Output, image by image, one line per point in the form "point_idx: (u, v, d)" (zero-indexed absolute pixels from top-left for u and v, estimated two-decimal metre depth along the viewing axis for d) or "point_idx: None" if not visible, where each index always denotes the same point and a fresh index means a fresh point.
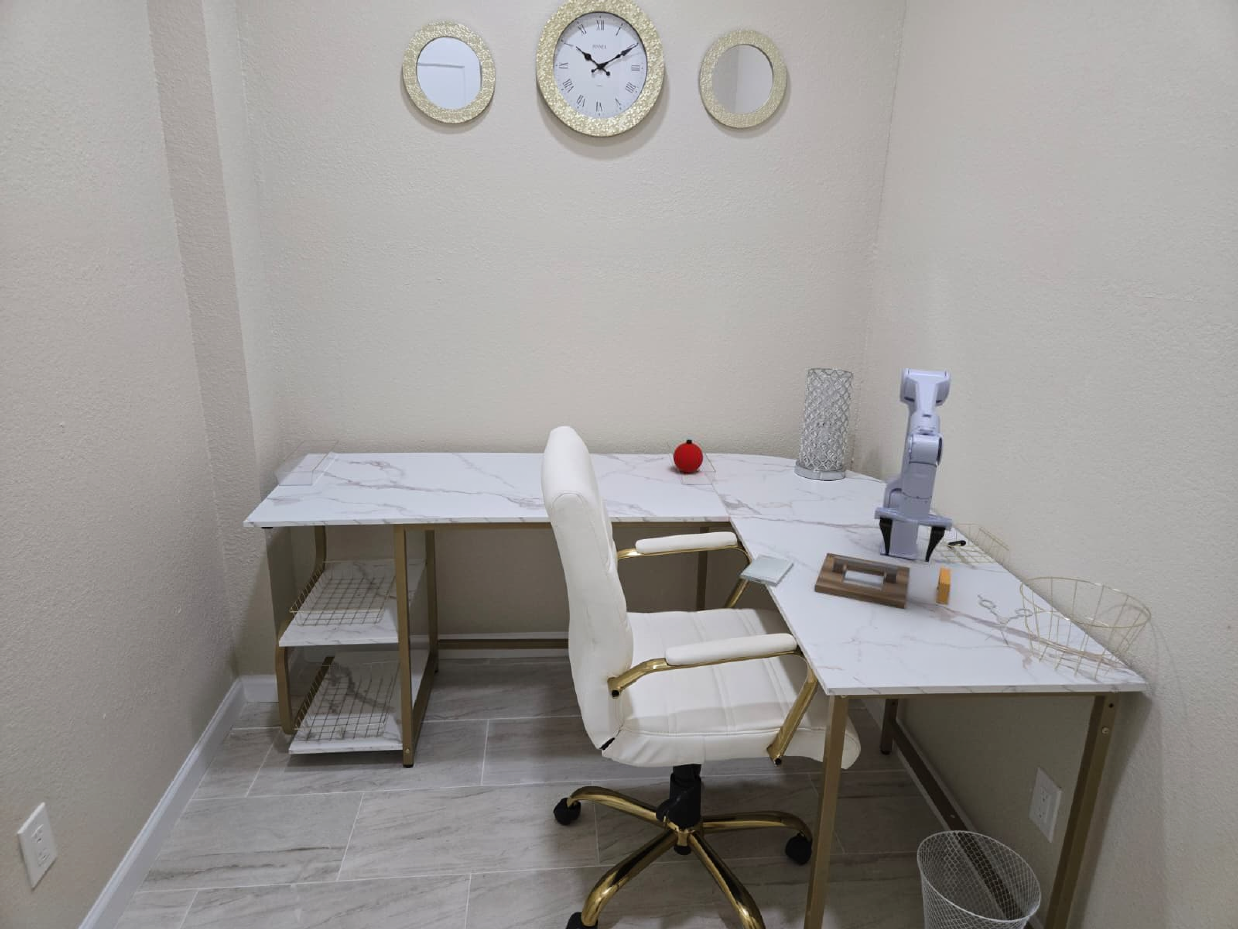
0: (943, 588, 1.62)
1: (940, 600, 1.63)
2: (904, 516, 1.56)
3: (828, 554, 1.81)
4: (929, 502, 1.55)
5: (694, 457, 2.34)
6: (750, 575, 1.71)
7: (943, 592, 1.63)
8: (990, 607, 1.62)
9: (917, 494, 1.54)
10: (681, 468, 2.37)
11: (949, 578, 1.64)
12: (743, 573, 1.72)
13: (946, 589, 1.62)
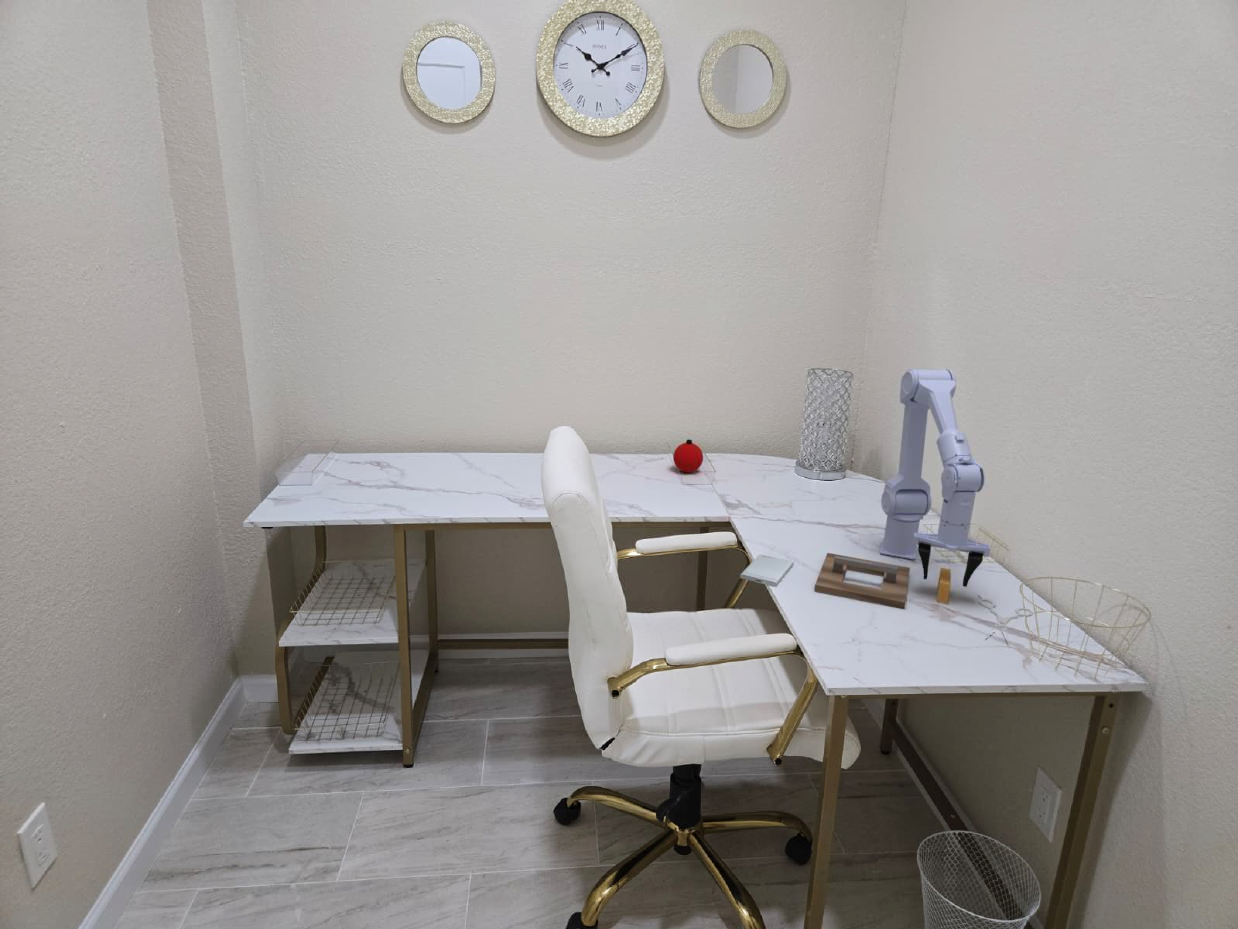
0: (943, 588, 1.62)
1: (940, 600, 1.63)
2: (943, 542, 1.61)
3: (828, 554, 1.81)
4: (968, 529, 1.60)
5: (694, 457, 2.34)
6: (750, 575, 1.71)
7: (943, 592, 1.63)
8: (990, 607, 1.62)
9: (962, 522, 1.58)
10: (681, 468, 2.37)
11: (949, 578, 1.64)
12: (743, 573, 1.72)
13: (946, 589, 1.62)
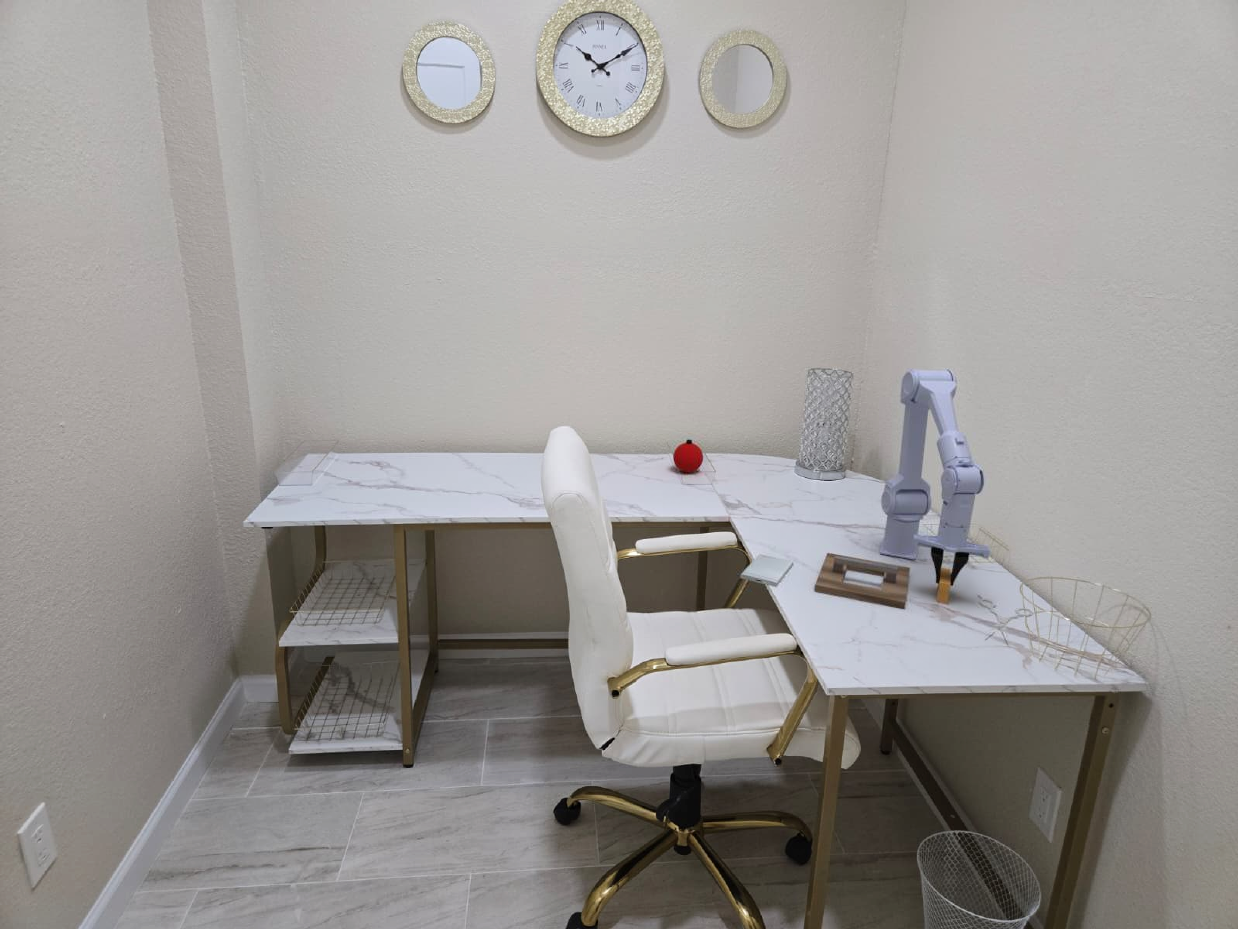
0: (943, 588, 1.62)
1: (940, 600, 1.63)
2: (943, 544, 1.61)
3: (828, 554, 1.81)
4: (967, 530, 1.60)
5: (694, 457, 2.34)
6: (750, 575, 1.71)
7: (943, 592, 1.63)
8: (990, 607, 1.62)
9: (961, 523, 1.59)
10: (681, 468, 2.37)
11: (949, 578, 1.64)
12: (743, 573, 1.72)
13: (946, 589, 1.62)
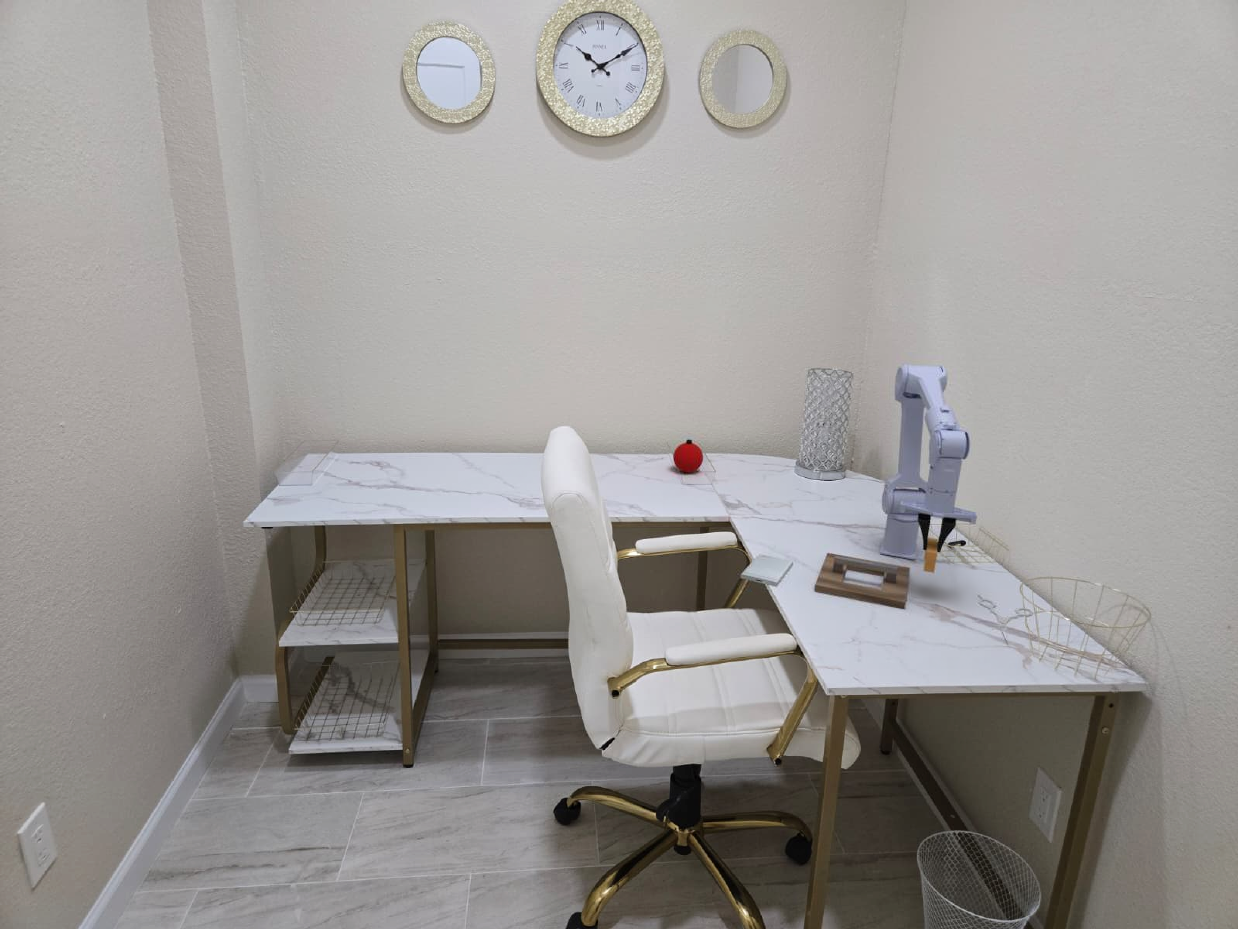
0: (930, 557, 1.61)
1: (927, 569, 1.62)
2: (930, 510, 1.60)
3: (828, 554, 1.81)
4: (954, 496, 1.59)
5: (694, 457, 2.34)
6: (751, 575, 1.71)
7: (930, 561, 1.62)
8: (990, 607, 1.62)
9: (946, 488, 1.58)
10: (681, 468, 2.37)
11: (936, 547, 1.63)
12: (743, 573, 1.72)
13: (933, 558, 1.61)
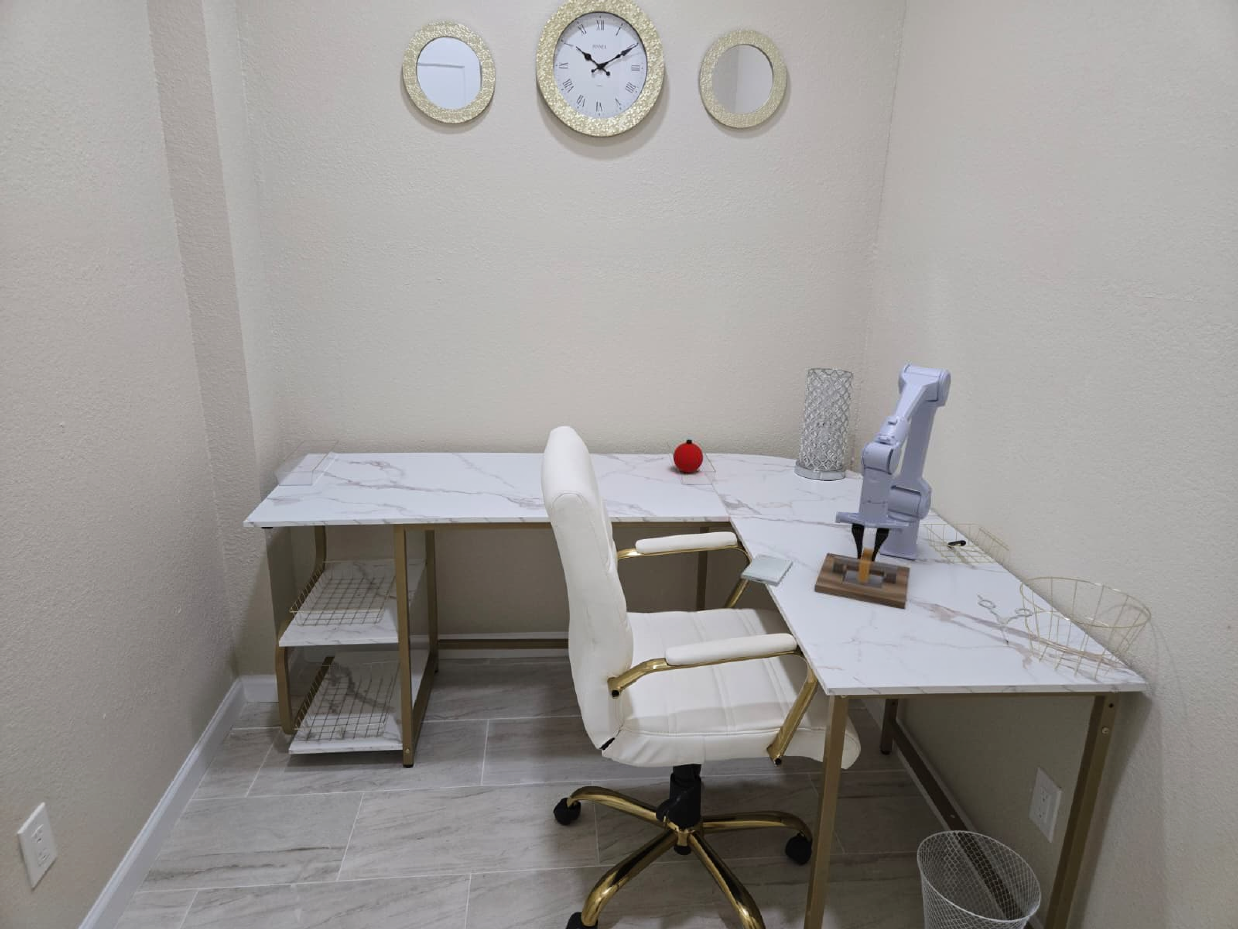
0: (863, 567, 1.66)
1: (860, 579, 1.68)
2: (863, 520, 1.65)
3: (828, 554, 1.81)
4: (886, 507, 1.64)
5: (694, 457, 2.34)
6: (751, 575, 1.71)
7: (863, 571, 1.67)
8: (990, 607, 1.62)
9: (869, 498, 1.63)
10: (681, 468, 2.37)
11: (870, 558, 1.68)
12: (744, 573, 1.72)
13: (866, 568, 1.66)
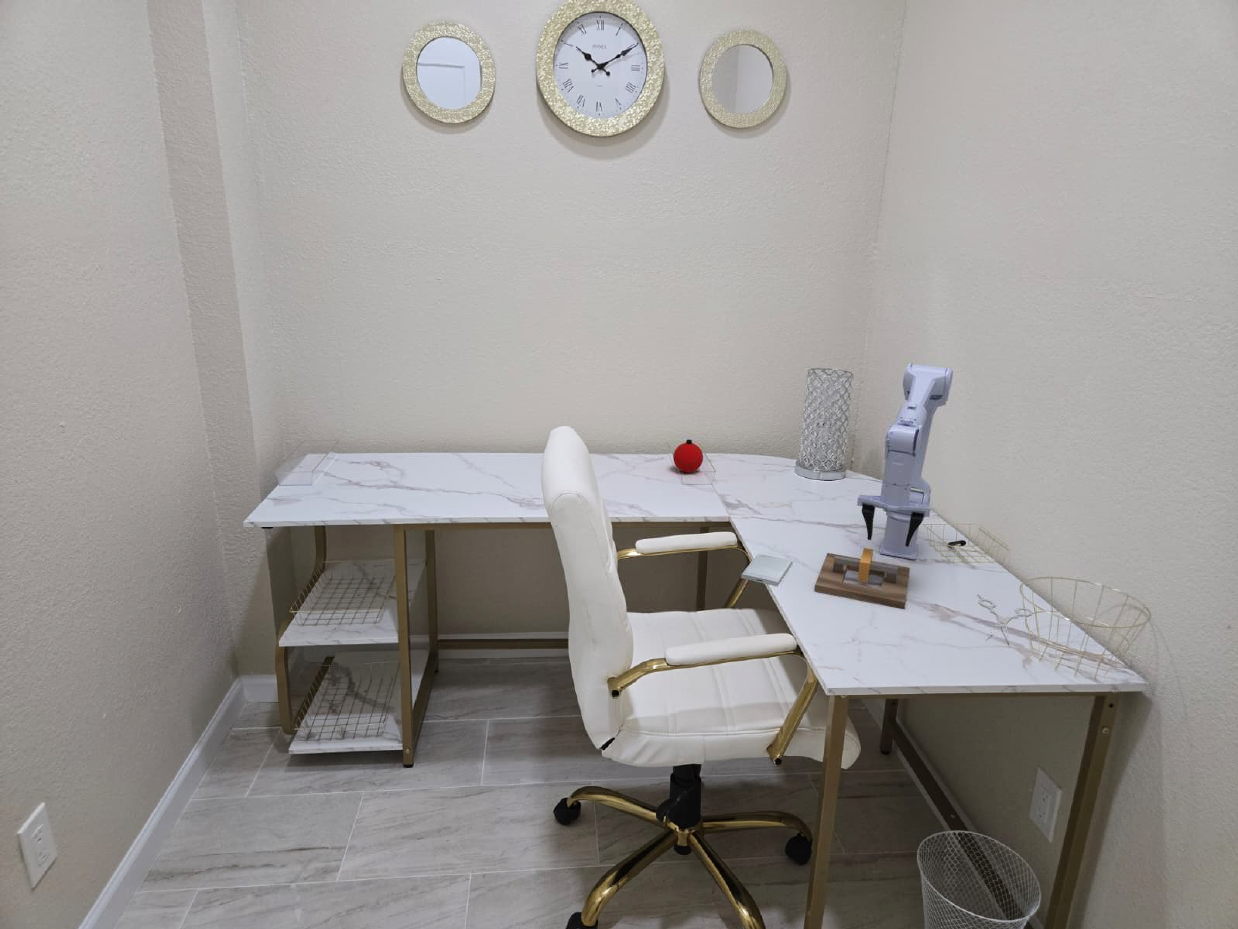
0: (863, 567, 1.66)
1: (860, 579, 1.68)
2: (885, 503, 1.65)
3: (828, 554, 1.81)
4: (909, 489, 1.64)
5: (694, 457, 2.34)
6: (751, 575, 1.71)
7: (863, 571, 1.67)
8: (990, 607, 1.62)
9: (894, 481, 1.63)
10: (681, 468, 2.37)
11: (870, 558, 1.68)
12: (744, 573, 1.72)
13: (866, 568, 1.66)
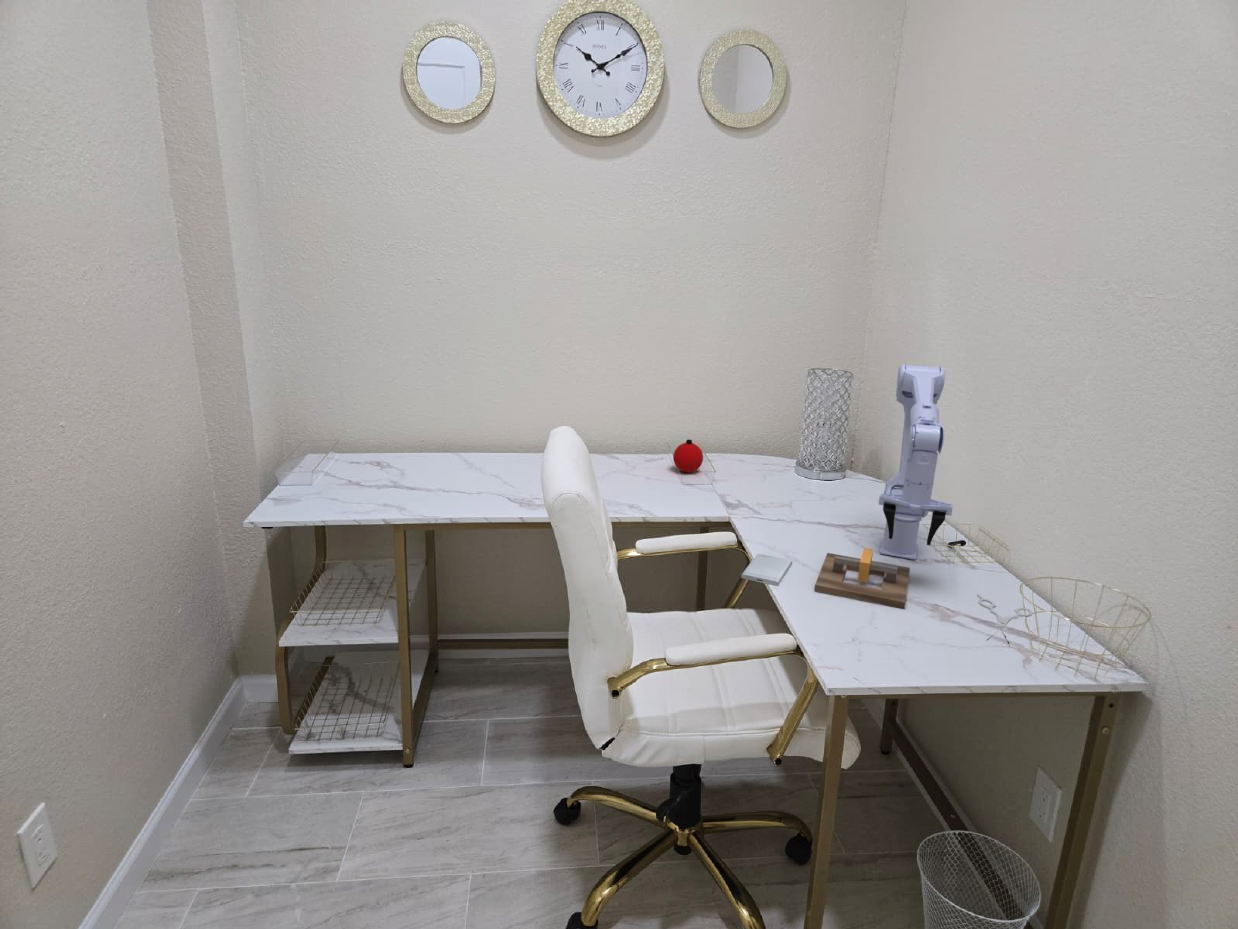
0: (863, 567, 1.66)
1: (860, 579, 1.68)
2: (907, 502, 1.66)
3: (828, 554, 1.81)
4: (931, 488, 1.64)
5: (694, 457, 2.34)
6: (751, 575, 1.71)
7: (863, 571, 1.67)
8: (990, 607, 1.62)
9: (920, 481, 1.63)
10: (681, 468, 2.37)
11: (870, 558, 1.68)
12: (744, 573, 1.72)
13: (866, 568, 1.66)
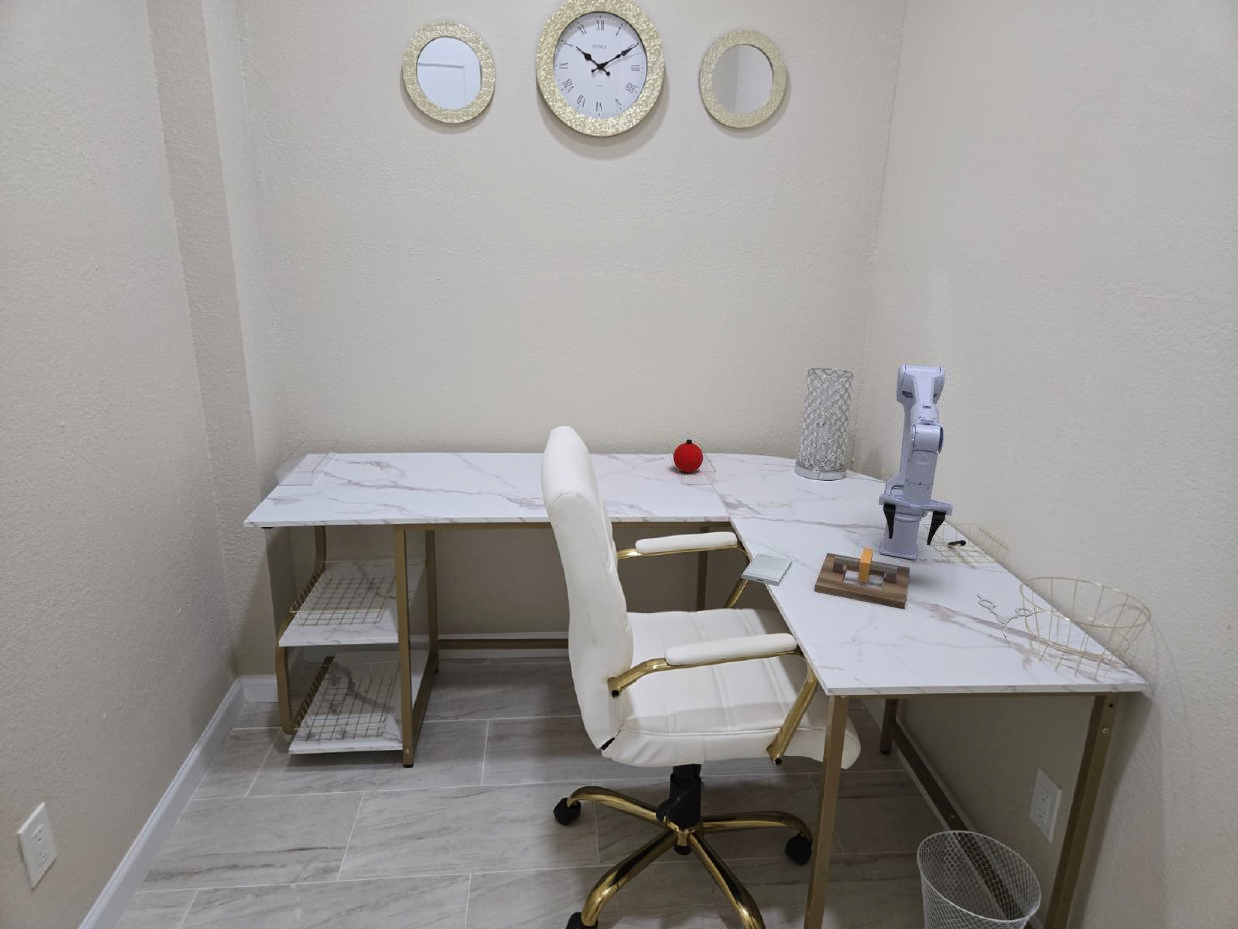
0: (863, 567, 1.66)
1: (860, 579, 1.68)
2: (907, 502, 1.66)
3: (828, 554, 1.81)
4: (931, 488, 1.64)
5: (694, 457, 2.34)
6: (751, 575, 1.71)
7: (863, 571, 1.67)
8: (990, 607, 1.62)
9: (920, 481, 1.63)
10: (681, 468, 2.37)
11: (870, 558, 1.68)
12: (744, 573, 1.72)
13: (866, 568, 1.66)
